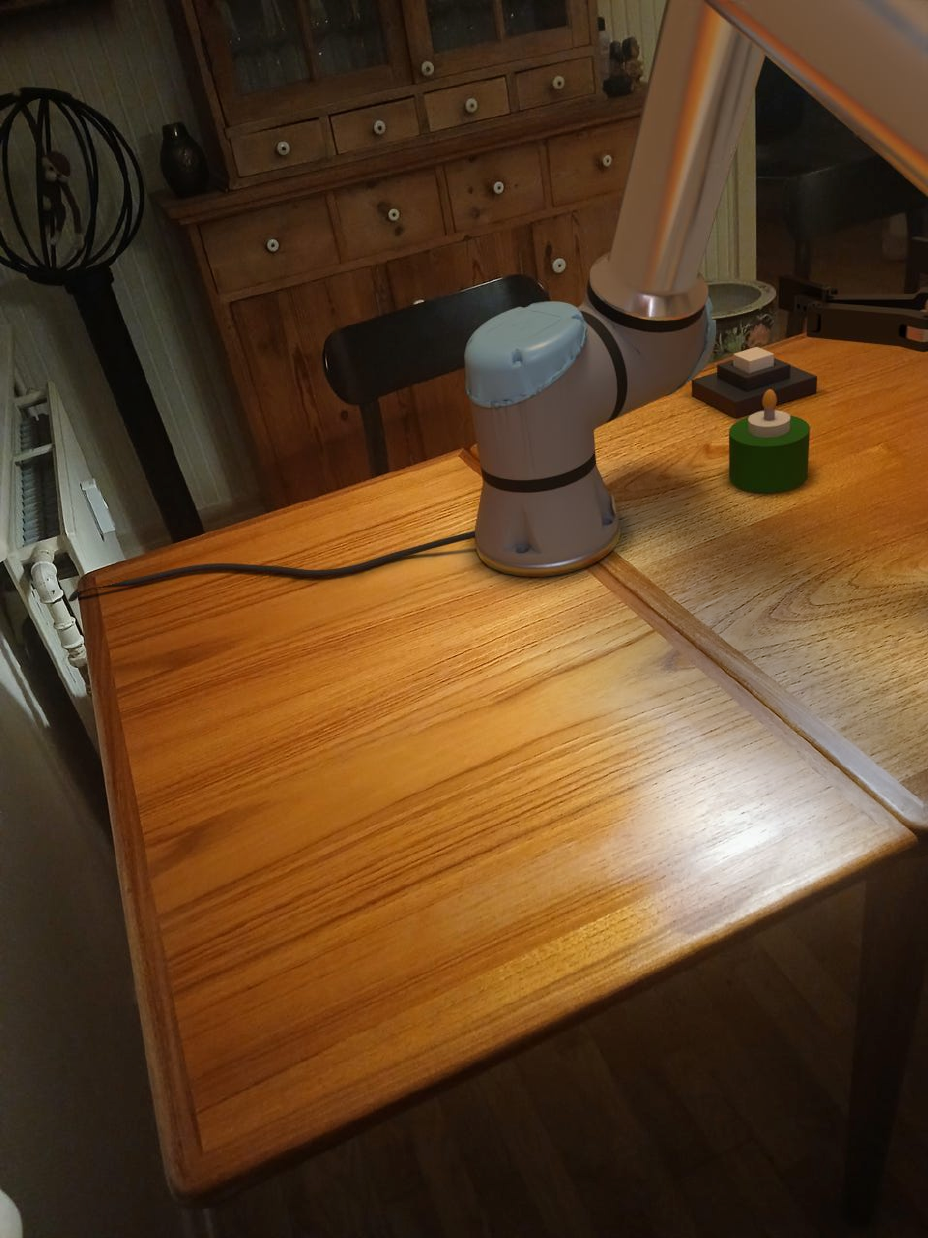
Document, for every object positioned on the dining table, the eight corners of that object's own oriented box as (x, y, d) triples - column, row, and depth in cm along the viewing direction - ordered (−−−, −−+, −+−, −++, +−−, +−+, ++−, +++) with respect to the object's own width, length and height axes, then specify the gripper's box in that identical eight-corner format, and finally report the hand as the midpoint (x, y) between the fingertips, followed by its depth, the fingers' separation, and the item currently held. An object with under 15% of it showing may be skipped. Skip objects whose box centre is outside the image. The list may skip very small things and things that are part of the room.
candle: (780, 500, 100) (782, 411, 95) (714, 482, 106) (712, 396, 100) (822, 468, 104) (827, 381, 99) (756, 453, 110) (758, 369, 104)
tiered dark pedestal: (735, 418, 118) (735, 388, 116) (691, 395, 126) (690, 366, 124) (816, 392, 121) (818, 362, 119) (768, 371, 129) (769, 342, 127)
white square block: (749, 374, 120) (749, 361, 119) (732, 366, 123) (732, 353, 122) (773, 366, 120) (774, 353, 119) (756, 359, 123) (756, 346, 122)
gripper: (903, 428, 65) (725, 350, 82) (1179, 334, 71) (958, 280, 88) (915, 319, 61) (725, 262, 78) (1207, 228, 67) (969, 193, 84)
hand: (848, 271), depth 83 cm, fingers open, 13 cm apart
